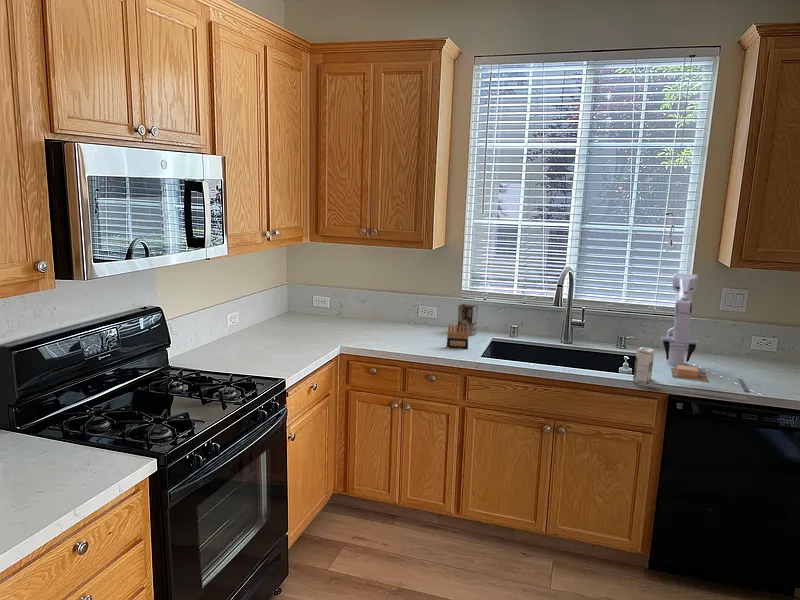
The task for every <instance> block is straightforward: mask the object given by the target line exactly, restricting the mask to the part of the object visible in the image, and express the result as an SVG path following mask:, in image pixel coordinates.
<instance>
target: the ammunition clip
mask: <svg viewBox="0 0 800 600" xmlns="http://www.w3.org/2000/svg"><path fill="white" fill-rule="evenodd" d="M446 335H447V336H446V337H447V338H446V348H447V347H449V348H448V349H457V348H461V349H462V350H468V349H469V336H468V325H467V327H466V333H465V327H464V325H463V328H462V335H461V325H460V326H459V331H458V324H456V325H454V324H452V325H451V324H448V327H447V334H446Z"/></svg>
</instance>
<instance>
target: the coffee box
mask: <svg viewBox="0 0 800 600" xmlns="http://www.w3.org/2000/svg"><path fill="white" fill-rule="evenodd" d="M477 323H478V305H473V304H467V303H466V304H465V303H462V304H460V305H458V307H457V328H458V331H459V326H460V325H461V334H462V328H463V325H464V327H465V333H466V327H467V325H468V335H469V336H470V337H473V336H476V335H477V328H478V327H477V325H478V324H477ZM469 336H468V337H469Z"/></svg>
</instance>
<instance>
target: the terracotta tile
mask: <svg viewBox="0 0 800 600" xmlns="http://www.w3.org/2000/svg"><path fill="white" fill-rule="evenodd" d="M676 369H677V370H676V372H677V375H678V376H685V377H693V378H698V372H700V371H699V368H698V366H691V365H677V366H676Z"/></svg>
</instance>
